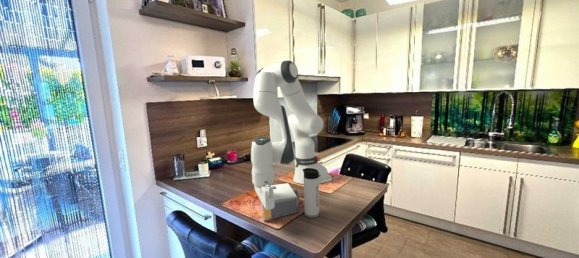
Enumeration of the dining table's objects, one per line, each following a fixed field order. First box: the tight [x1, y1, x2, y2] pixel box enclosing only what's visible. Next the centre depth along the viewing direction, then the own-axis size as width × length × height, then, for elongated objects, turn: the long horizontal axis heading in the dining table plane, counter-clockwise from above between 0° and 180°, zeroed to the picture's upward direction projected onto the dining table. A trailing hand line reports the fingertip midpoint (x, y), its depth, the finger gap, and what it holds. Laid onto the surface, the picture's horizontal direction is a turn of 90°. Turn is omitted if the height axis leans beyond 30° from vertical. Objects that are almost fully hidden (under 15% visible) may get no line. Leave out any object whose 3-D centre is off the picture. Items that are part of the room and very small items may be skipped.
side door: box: [262, 197, 299, 222], centre depth 103 cm, size 16×1×6 cm, turn 114°
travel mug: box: [303, 168, 320, 219], centre depth 103 cm, size 6×7×20 cm
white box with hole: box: [271, 182, 299, 203], centre depth 113 cm, size 14×16×8 cm
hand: (264, 209), depth 102 cm, fingers closed
